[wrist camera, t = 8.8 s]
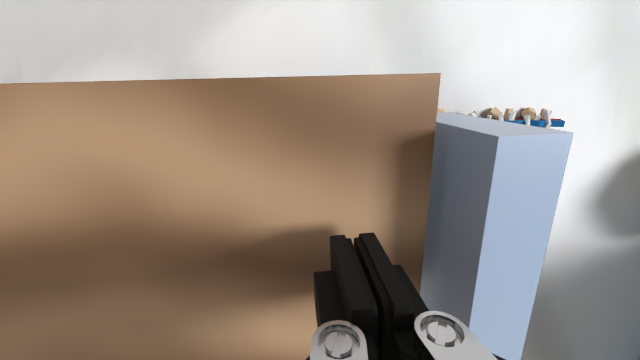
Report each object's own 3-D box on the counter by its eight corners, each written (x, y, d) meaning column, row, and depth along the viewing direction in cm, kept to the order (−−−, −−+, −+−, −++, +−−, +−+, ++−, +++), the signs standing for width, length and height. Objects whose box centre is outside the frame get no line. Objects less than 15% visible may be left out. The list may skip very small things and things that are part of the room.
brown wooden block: (378, 292, 21) (412, 371, 15) (68, 319, 19) (-26, 420, 13) (387, 76, 16) (440, 73, 11) (-13, 86, 15) (-204, 88, 9)
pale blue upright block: (395, 278, 19) (433, 273, 19) (460, 384, 12) (517, 375, 12) (405, 114, 16) (450, 112, 16) (498, 136, 9) (573, 132, 9)
